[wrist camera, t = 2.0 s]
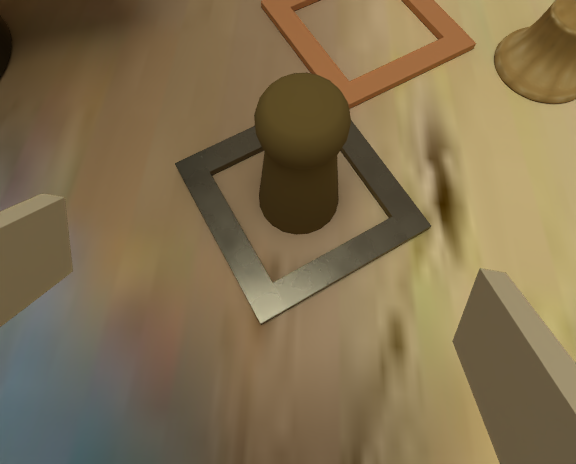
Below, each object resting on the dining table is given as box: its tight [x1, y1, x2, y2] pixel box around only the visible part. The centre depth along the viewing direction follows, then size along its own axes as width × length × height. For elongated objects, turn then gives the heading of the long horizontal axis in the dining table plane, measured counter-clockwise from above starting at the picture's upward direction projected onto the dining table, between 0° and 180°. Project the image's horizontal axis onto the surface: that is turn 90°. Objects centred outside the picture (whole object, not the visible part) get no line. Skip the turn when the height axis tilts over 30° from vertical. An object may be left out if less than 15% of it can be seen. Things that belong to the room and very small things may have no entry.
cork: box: [254, 73, 351, 234], centre depth 25 cm, size 6×6×11 cm
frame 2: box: [175, 121, 431, 325], centre depth 30 cm, size 14×14×1 cm
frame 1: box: [261, 0, 476, 109], centre depth 36 cm, size 14×14×1 cm
